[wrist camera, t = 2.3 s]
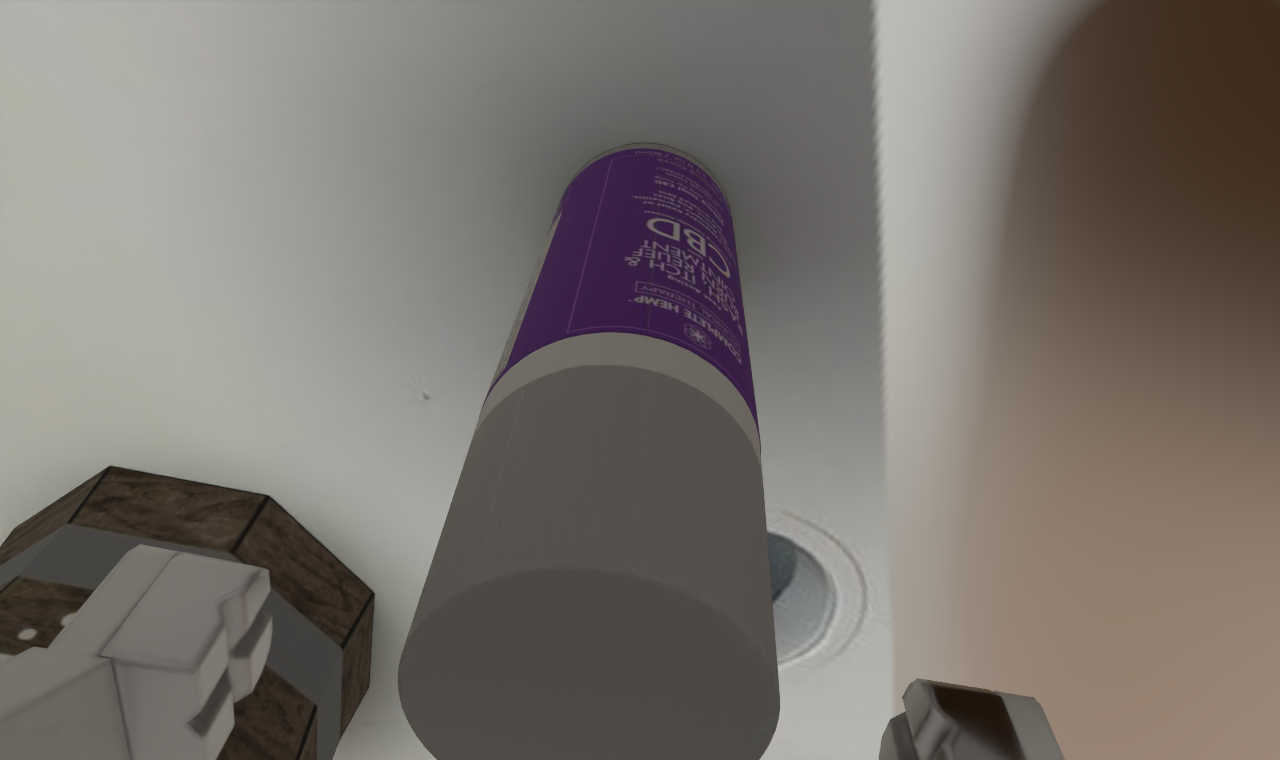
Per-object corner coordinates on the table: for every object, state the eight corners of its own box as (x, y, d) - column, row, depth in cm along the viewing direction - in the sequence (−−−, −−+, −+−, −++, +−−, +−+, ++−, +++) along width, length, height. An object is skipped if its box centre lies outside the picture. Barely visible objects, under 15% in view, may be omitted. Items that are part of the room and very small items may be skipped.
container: (745, 152, 21) (832, 583, 9) (719, 317, 24) (755, 843, 11) (561, 132, 21) (371, 535, 9) (552, 299, 24) (397, 806, 11)
